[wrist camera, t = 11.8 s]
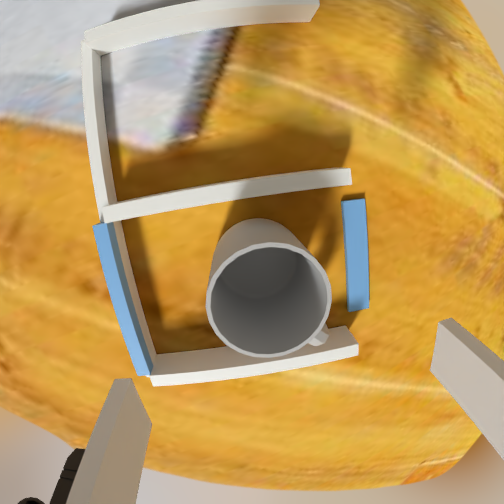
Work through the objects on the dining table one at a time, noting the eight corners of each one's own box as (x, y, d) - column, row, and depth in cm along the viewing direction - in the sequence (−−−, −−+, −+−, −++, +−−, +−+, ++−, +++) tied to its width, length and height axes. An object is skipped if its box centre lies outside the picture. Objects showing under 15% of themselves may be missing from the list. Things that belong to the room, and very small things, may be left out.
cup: (256, 197, 25) (269, 213, 16) (337, 278, 27) (379, 324, 19) (195, 262, 26) (179, 307, 18) (279, 333, 28) (298, 396, 20)
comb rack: (88, 48, 20) (72, 35, 17) (330, 11, 21) (343, -6, 18) (149, 365, 28) (141, 387, 25) (366, 331, 29) (380, 349, 26)
